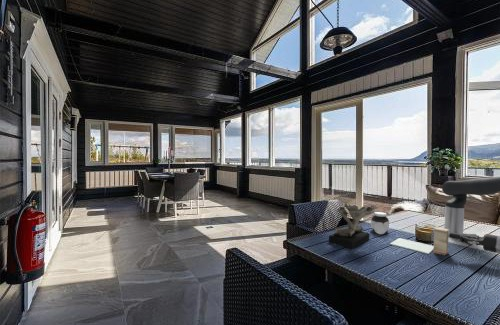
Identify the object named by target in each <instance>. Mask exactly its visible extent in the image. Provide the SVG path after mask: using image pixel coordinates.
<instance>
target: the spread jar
mask: <svg viewBox="0 0 500 325" xmlns="http://www.w3.org/2000/svg"><path fill="white" fill-rule="evenodd" d="M373 214H374V215H372V217H371V219H370V227H371V230H372V231H374V232H375V233H376V234H378V235H384V234H385V233H387V232H388V231H389V229H390V220H389V218H388V216H387V213H386V212H381V211H374V213H373Z"/></svg>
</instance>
